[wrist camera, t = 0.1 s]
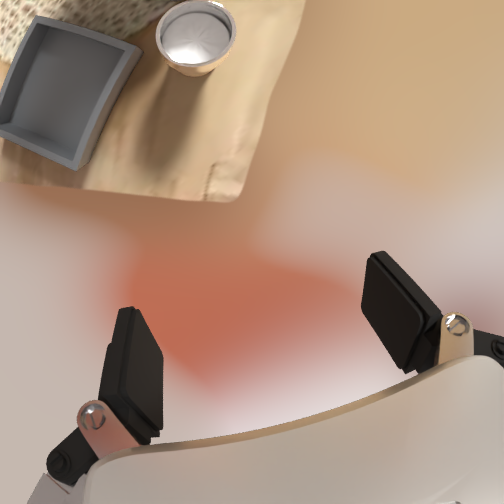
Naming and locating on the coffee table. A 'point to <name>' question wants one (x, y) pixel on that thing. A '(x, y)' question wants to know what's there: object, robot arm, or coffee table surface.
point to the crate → (63, 89)
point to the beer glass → (195, 36)
